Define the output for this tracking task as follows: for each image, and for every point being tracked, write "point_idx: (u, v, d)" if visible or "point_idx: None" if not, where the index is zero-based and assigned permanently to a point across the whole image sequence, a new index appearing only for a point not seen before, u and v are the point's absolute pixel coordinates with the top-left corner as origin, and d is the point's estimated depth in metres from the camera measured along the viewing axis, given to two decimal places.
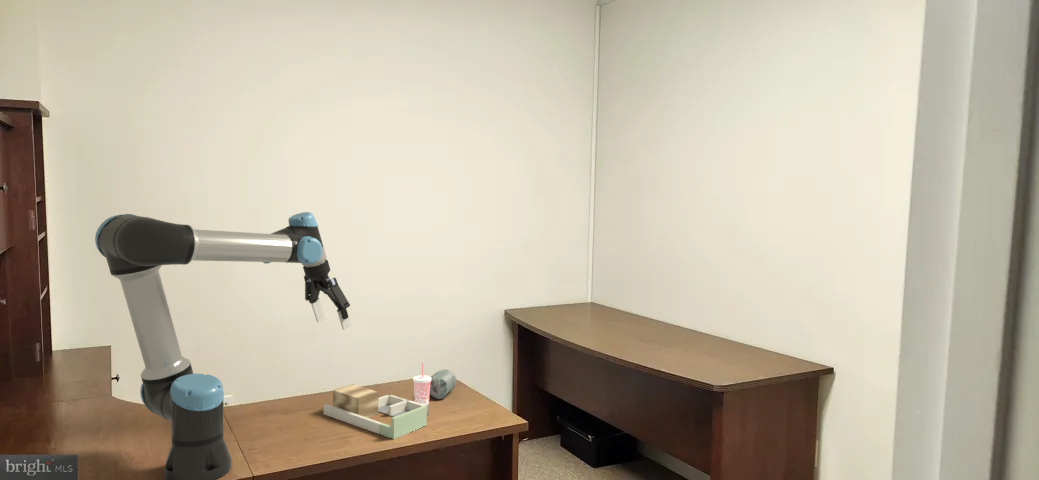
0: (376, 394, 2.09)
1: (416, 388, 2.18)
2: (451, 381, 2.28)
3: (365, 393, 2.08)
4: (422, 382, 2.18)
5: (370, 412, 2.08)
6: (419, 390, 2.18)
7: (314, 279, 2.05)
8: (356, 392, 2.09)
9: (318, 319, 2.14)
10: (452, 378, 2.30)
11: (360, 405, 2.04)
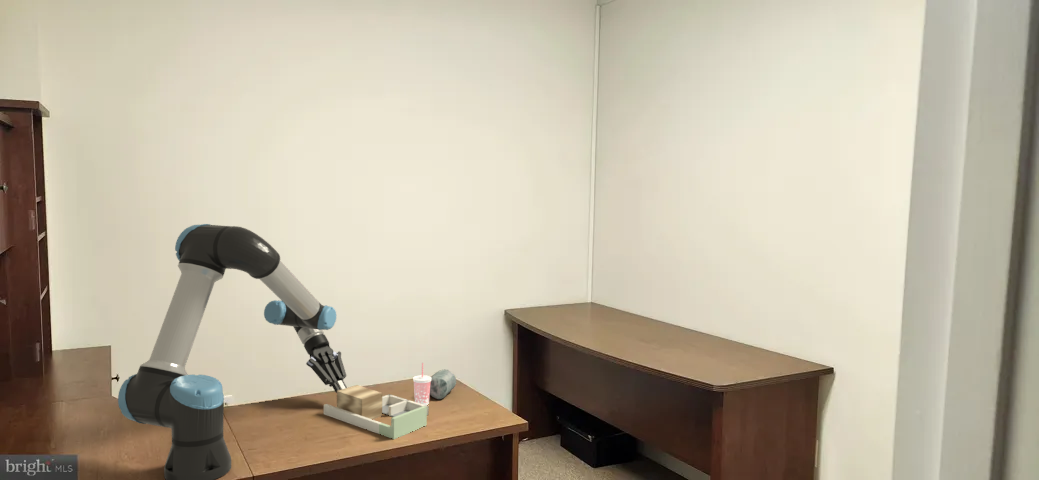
0: (380, 395, 2.08)
1: (416, 388, 2.18)
2: (451, 381, 2.28)
3: (369, 394, 2.07)
4: (422, 382, 2.18)
5: (374, 413, 2.07)
6: (419, 390, 2.18)
7: (318, 352, 2.18)
8: (360, 393, 2.08)
9: None
10: (452, 378, 2.30)
11: (363, 406, 2.03)
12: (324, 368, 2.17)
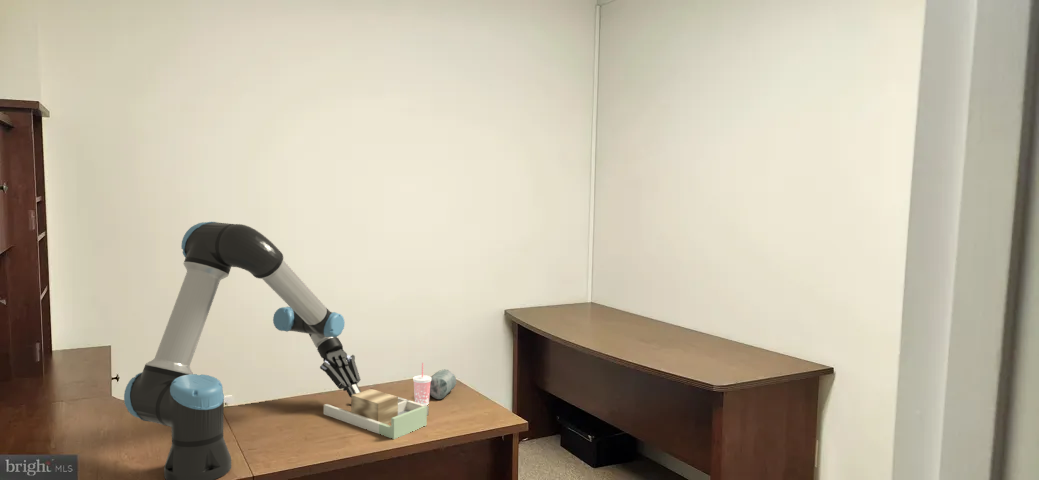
0: (396, 399, 2.05)
1: (416, 388, 2.18)
2: (451, 381, 2.28)
3: (385, 398, 2.04)
4: (422, 382, 2.18)
5: (390, 417, 2.04)
6: (419, 390, 2.18)
7: (332, 356, 2.15)
8: (375, 397, 2.05)
9: None
10: (452, 378, 2.30)
11: (379, 410, 2.00)
12: (338, 372, 2.14)
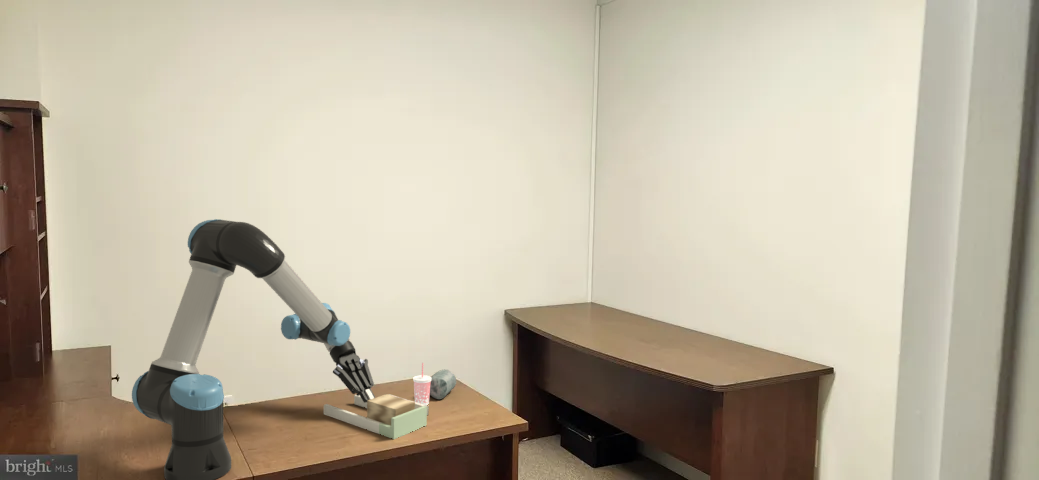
0: (413, 405, 2.01)
1: (416, 388, 2.18)
2: (451, 381, 2.28)
3: (402, 404, 1.99)
4: (422, 382, 2.18)
5: None
6: (419, 390, 2.18)
7: (344, 360, 2.10)
8: (392, 402, 2.00)
9: None
10: (452, 378, 2.30)
11: None
12: (351, 376, 2.09)
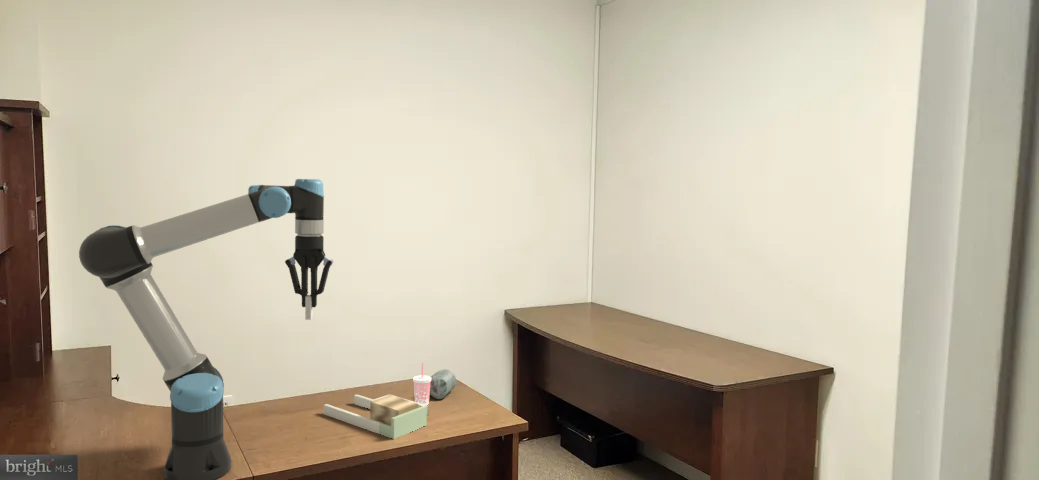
0: (416, 406, 2.00)
1: (416, 388, 2.18)
2: (451, 381, 2.28)
3: (405, 405, 1.98)
4: (422, 382, 2.18)
5: None
6: (419, 390, 2.18)
7: (301, 255, 1.85)
8: (395, 404, 1.99)
9: (308, 316, 1.87)
10: (452, 378, 2.30)
11: None
12: None
